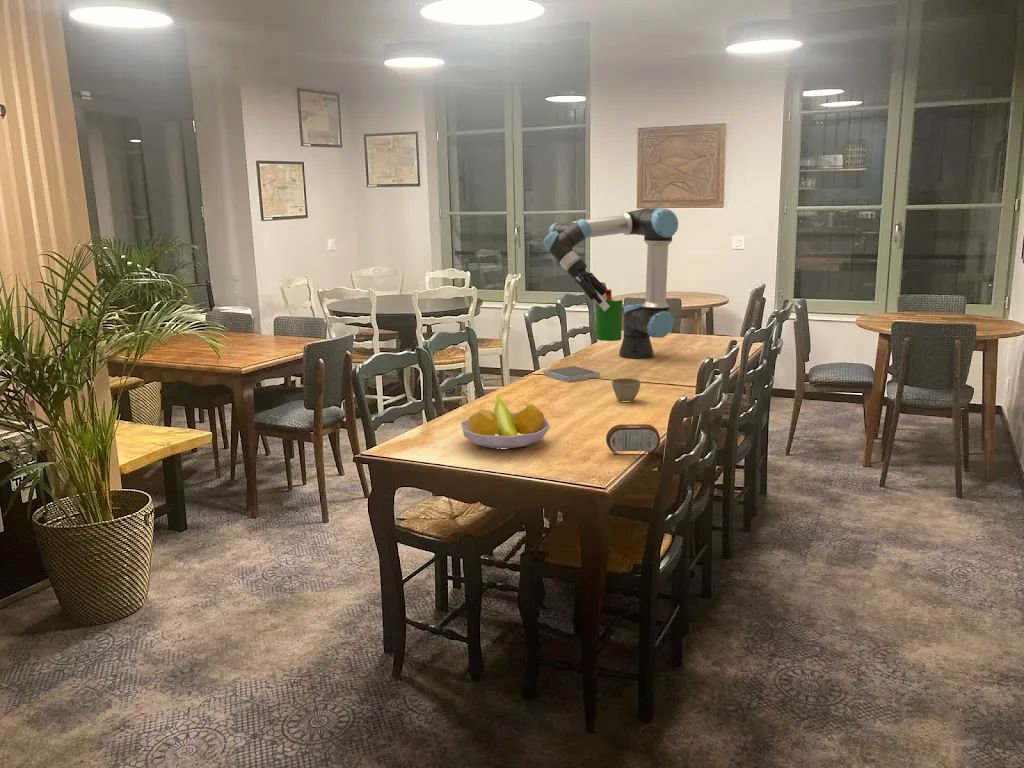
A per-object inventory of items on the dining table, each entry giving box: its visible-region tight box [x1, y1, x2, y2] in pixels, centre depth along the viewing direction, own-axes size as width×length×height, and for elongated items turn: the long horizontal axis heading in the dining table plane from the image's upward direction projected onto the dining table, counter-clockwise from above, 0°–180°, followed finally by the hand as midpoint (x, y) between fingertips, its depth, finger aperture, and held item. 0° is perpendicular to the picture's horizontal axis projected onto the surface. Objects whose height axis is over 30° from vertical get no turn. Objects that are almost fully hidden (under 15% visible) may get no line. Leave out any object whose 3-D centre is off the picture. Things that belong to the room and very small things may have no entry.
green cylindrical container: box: [595, 288, 624, 342], centre depth 329 cm, size 10×9×20 cm
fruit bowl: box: [460, 394, 551, 449], centre depth 247 cm, size 28×27×11 cm
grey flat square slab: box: [543, 365, 601, 383], centre depth 335 cm, size 16×16×2 cm
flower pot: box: [611, 377, 642, 402], centre depth 294 cm, size 10×10×7 cm
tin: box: [605, 423, 661, 455], centre depth 234 cm, size 15×3×8 cm, turn 92°
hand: (611, 307), depth 328 cm, fingers closed on green cylindrical container, 8 cm apart
